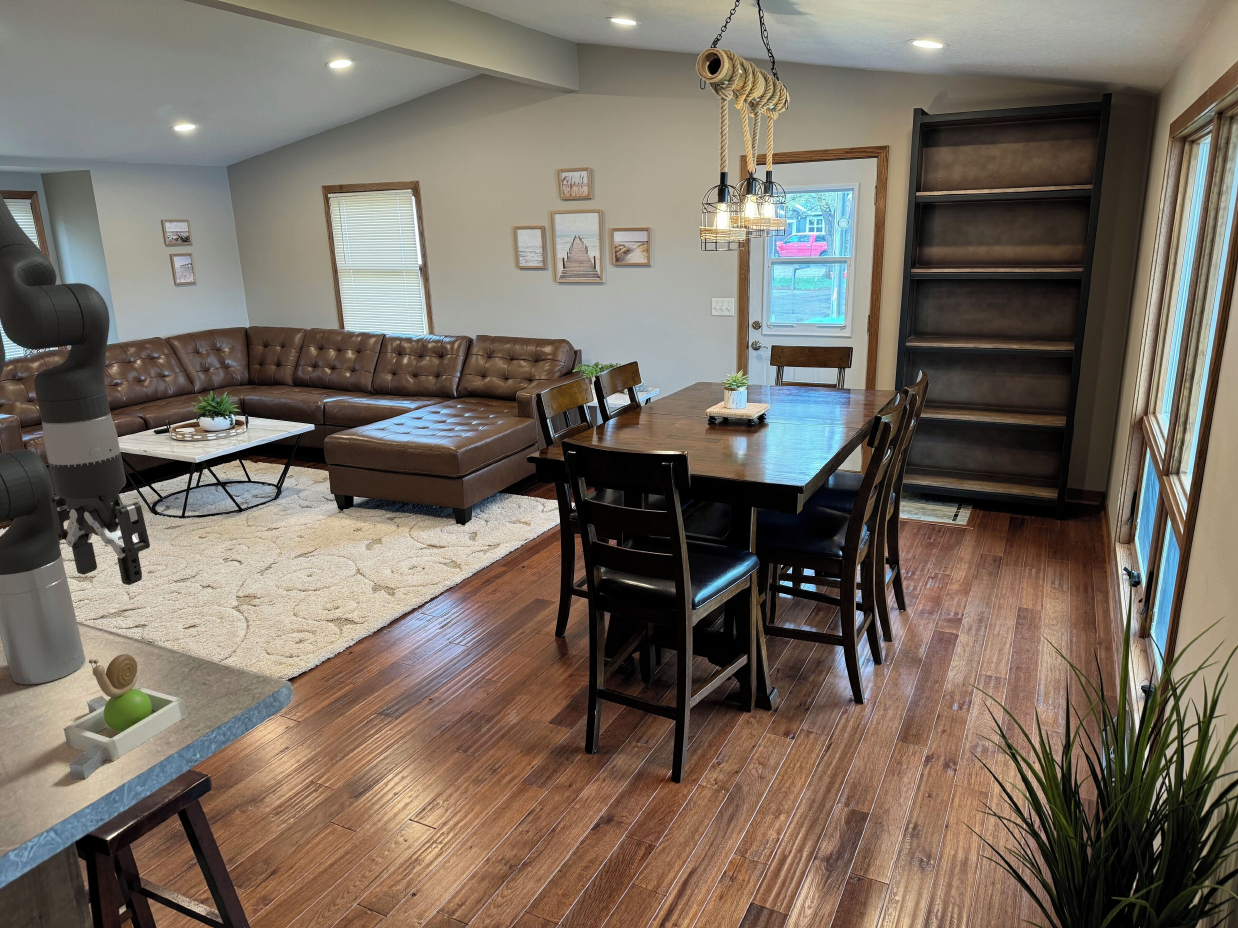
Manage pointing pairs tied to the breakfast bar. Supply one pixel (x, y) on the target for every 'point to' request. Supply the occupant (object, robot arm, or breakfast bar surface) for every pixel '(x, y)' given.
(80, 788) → the breakfast bar surface
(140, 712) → the snail figurine
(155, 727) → the white rectangular frame piece
